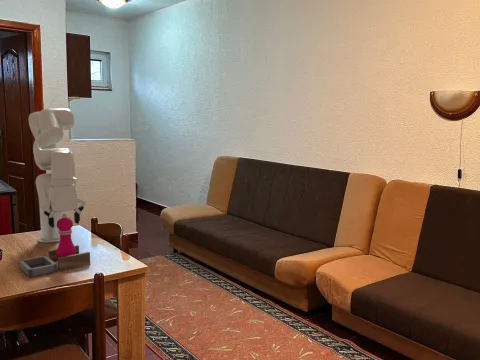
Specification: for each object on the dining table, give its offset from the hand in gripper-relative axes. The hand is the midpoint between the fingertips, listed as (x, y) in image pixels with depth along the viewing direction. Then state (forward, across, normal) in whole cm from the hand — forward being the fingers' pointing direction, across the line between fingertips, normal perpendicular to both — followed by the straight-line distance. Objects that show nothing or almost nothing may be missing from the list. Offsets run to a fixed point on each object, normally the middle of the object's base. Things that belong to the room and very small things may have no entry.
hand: (64, 224), depth 183 cm
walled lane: (+16, -1, +1) cm, 16 cm away
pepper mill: (+16, 0, +1) cm, 16 cm away
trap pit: (+16, +11, +1) cm, 19 cm away
